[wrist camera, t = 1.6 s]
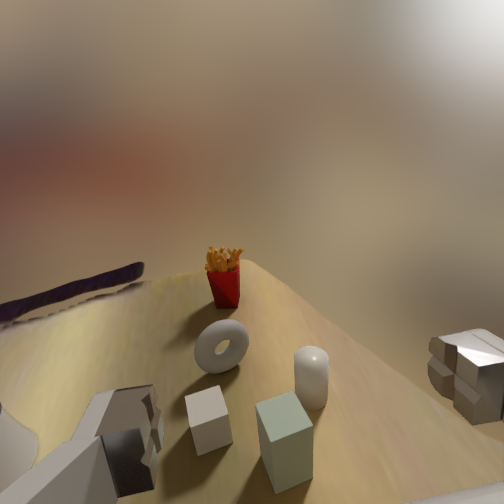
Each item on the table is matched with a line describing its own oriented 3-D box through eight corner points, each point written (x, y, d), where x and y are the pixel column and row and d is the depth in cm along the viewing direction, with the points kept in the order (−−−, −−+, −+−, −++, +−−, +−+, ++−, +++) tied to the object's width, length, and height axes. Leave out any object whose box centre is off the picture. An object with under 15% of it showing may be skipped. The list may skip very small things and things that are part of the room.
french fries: (217, 294, 77) (208, 238, 70) (250, 293, 76) (244, 237, 70) (210, 316, 69) (199, 256, 63) (247, 316, 68) (240, 255, 62)
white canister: (304, 414, 46) (303, 376, 43) (289, 388, 51) (288, 351, 47) (333, 403, 48) (335, 364, 44) (317, 379, 52) (317, 342, 48)
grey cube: (197, 456, 42) (190, 427, 40) (191, 424, 46) (184, 396, 44) (233, 442, 43) (228, 414, 41) (224, 412, 48) (219, 385, 45)
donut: (245, 350, 59) (240, 307, 55) (254, 361, 56) (250, 317, 52) (196, 374, 55) (186, 329, 51) (203, 387, 52) (193, 341, 48)
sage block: (275, 494, 37) (270, 442, 33) (260, 454, 42) (255, 403, 37) (312, 477, 39) (313, 425, 34) (294, 441, 43) (293, 390, 39)
